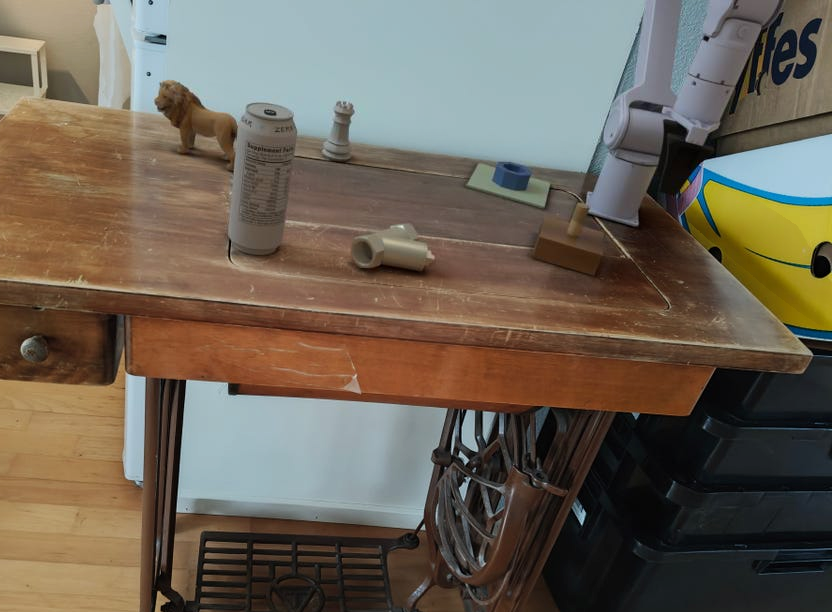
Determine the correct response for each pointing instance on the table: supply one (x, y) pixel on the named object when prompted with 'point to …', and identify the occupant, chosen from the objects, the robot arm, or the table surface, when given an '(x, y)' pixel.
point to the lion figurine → (196, 119)
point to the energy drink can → (262, 177)
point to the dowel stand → (570, 242)
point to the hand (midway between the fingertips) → (665, 184)
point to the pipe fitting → (392, 249)
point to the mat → (530, 196)
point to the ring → (511, 176)
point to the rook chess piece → (339, 133)
